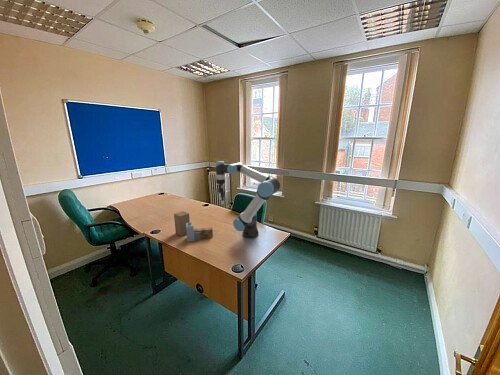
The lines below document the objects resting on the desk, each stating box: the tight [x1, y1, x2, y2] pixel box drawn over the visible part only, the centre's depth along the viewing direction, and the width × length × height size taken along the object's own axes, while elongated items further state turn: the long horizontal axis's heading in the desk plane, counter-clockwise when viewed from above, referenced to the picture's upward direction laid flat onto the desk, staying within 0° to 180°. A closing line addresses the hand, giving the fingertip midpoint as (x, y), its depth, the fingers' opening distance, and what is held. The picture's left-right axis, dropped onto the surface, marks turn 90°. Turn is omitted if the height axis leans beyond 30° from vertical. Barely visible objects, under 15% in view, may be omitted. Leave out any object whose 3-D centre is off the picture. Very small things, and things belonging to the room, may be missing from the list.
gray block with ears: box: [186, 221, 201, 242], centre depth 185 cm, size 11×8×16 cm
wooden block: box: [173, 210, 191, 237], centre depth 195 cm, size 10×10×20 cm
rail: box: [194, 227, 214, 240], centre depth 189 cm, size 16×4×8 cm, turn 105°
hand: (221, 201), depth 188 cm, fingers open, 13 cm apart
